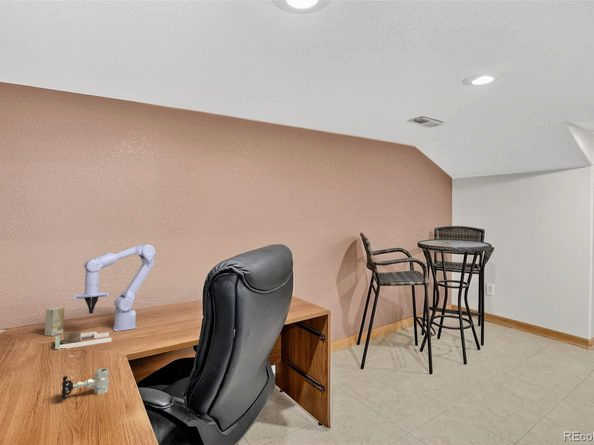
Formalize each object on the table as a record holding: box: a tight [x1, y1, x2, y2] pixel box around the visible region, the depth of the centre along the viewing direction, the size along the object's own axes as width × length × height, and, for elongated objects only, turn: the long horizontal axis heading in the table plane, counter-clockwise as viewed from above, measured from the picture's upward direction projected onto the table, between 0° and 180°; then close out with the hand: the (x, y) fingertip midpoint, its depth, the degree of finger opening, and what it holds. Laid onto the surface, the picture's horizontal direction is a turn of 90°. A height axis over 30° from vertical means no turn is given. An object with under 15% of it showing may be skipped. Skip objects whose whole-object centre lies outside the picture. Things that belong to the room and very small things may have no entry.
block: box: [62, 331, 82, 345], centre depth 146 cm, size 6×5×4 cm
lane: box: [54, 331, 113, 350], centre depth 151 cm, size 20×15×3 cm
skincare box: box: [44, 306, 65, 337], centre depth 160 cm, size 6×4×12 cm
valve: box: [61, 367, 110, 401], centre depth 102 cm, size 7×7×12 cm
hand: (90, 313), depth 161 cm, fingers closed
